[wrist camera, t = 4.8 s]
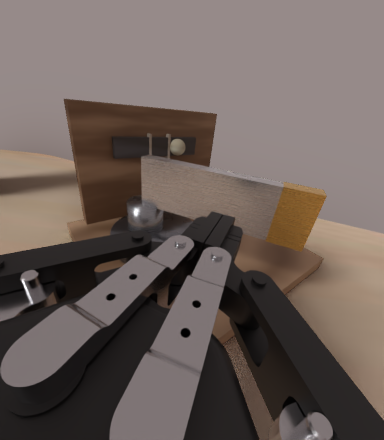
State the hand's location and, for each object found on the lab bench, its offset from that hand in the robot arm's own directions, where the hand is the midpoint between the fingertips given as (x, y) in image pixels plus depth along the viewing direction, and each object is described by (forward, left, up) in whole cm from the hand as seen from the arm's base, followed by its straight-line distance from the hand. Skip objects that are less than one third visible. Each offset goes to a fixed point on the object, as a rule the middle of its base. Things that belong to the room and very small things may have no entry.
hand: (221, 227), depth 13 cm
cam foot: (-6, +4, -8) cm, 11 cm away
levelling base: (-9, +6, -10) cm, 14 cm away
